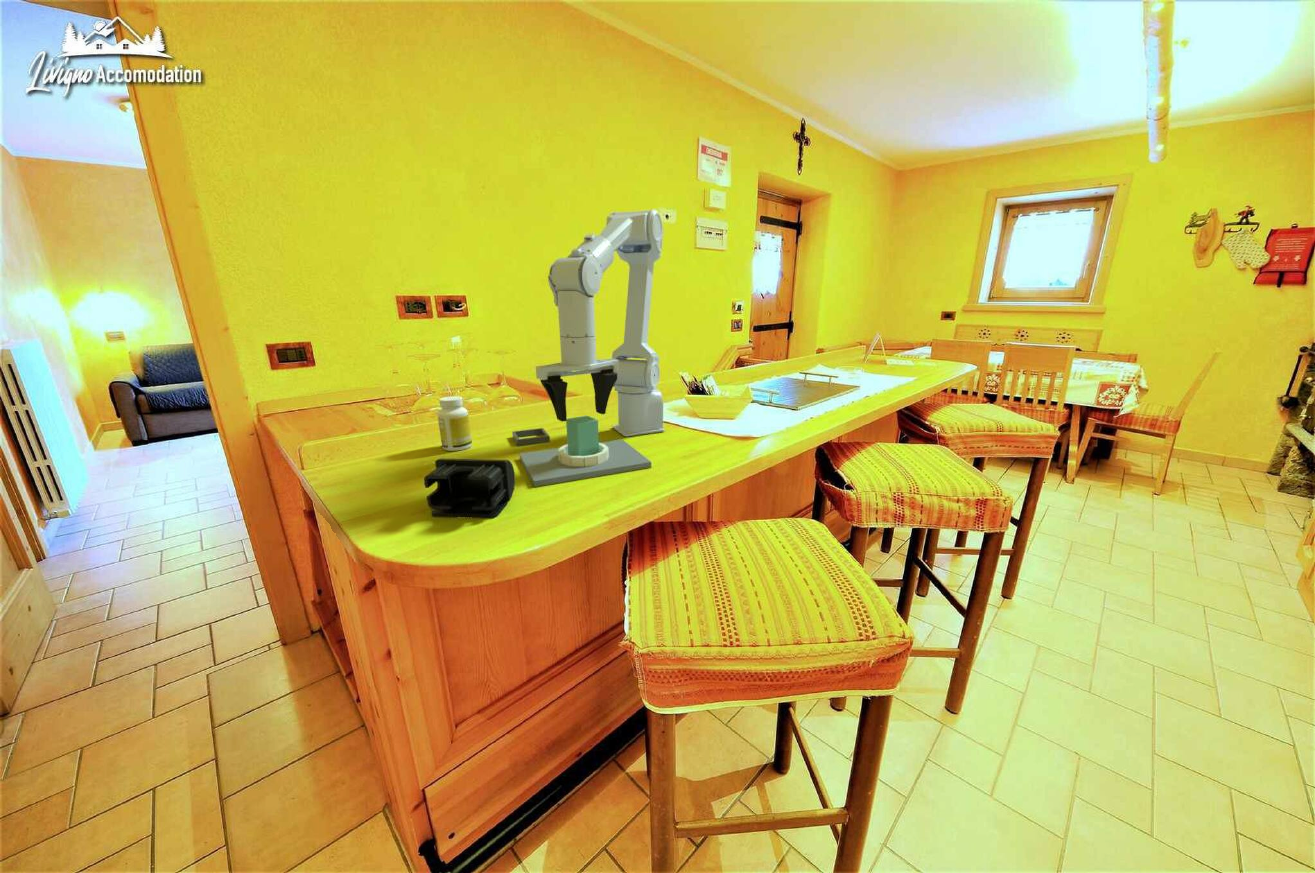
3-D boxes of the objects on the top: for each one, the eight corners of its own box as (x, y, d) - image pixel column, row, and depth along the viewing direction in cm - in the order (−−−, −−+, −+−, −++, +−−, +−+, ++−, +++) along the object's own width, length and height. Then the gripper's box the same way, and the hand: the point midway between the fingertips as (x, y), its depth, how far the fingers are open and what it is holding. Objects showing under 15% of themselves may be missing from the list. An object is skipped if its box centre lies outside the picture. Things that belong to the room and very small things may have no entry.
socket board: (622, 444, 91) (622, 431, 90) (651, 467, 79) (651, 453, 78) (519, 458, 83) (518, 445, 82) (534, 487, 71) (533, 471, 70)
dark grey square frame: (543, 433, 98) (542, 427, 98) (549, 441, 92) (549, 436, 92) (512, 437, 95) (512, 431, 95) (517, 445, 90) (517, 440, 89)
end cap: (517, 496, 68) (513, 453, 66) (499, 519, 61) (494, 472, 59) (451, 495, 68) (445, 452, 66) (426, 517, 61) (418, 470, 59)
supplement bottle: (477, 443, 91) (471, 395, 88) (463, 452, 86) (457, 401, 83) (451, 442, 92) (444, 395, 89) (436, 451, 87) (429, 401, 84)
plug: (588, 452, 83) (586, 415, 81) (599, 458, 80) (597, 420, 78) (568, 456, 81) (566, 419, 79) (579, 463, 78) (577, 424, 76)
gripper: (602, 332, 81) (605, 405, 86) (525, 336, 73) (532, 418, 77) (624, 334, 76) (626, 413, 80) (544, 340, 68) (550, 427, 72)
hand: (581, 416), depth 78 cm, fingers open, 7 cm apart
